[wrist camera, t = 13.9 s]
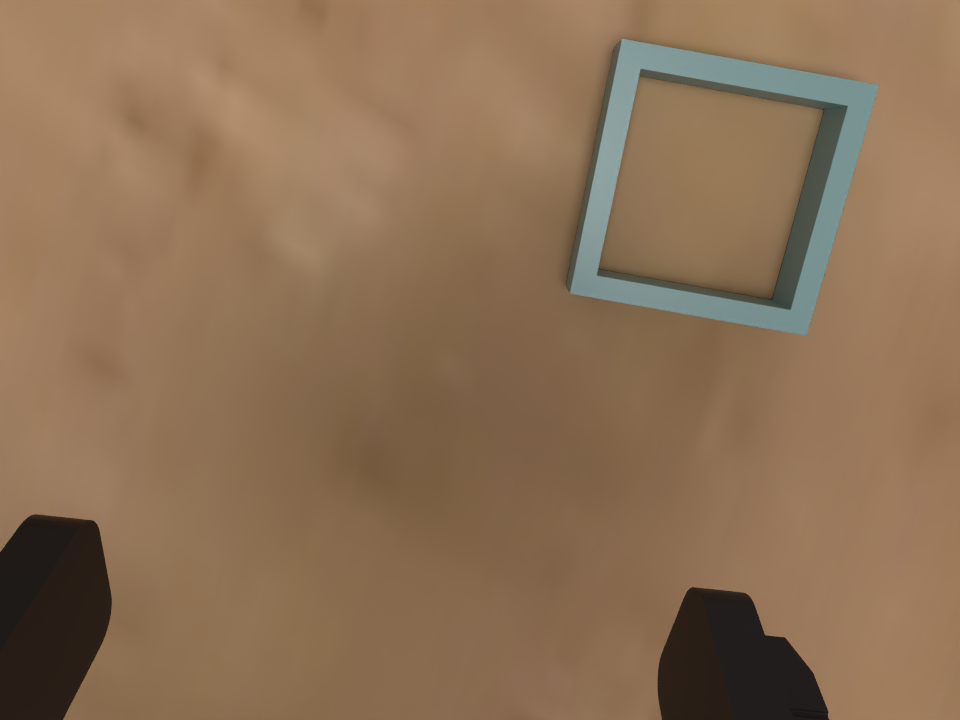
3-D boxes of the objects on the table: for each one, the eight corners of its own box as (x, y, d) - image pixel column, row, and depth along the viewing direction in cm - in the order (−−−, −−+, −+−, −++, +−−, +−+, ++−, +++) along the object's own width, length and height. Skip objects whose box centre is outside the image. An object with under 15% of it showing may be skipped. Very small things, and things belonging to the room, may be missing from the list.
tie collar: (565, 284, 30) (569, 293, 28) (614, 47, 27) (622, 38, 25) (787, 323, 30) (806, 335, 28) (852, 90, 27) (879, 84, 26)
